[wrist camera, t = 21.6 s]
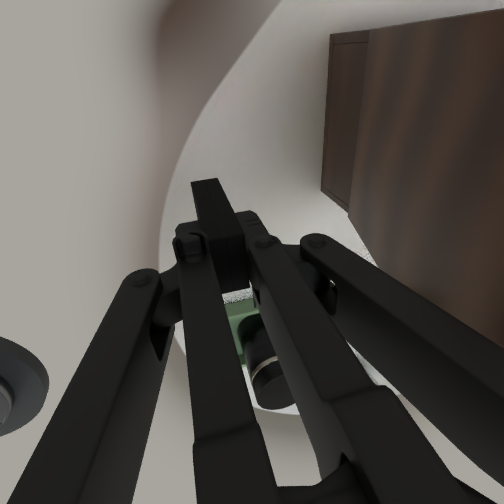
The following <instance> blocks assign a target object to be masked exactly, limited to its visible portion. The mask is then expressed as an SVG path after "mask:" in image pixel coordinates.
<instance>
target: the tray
mask: <svg viewBox="0 0 504 504" xmlns="http://www.w3.org/2000/svg"><path fill="white" fill-rule="evenodd" d="M256 306H257V304H256ZM225 308H226V312H227V316H228V319H229V323H230V326H231V330H232V334H233V337H234V341H235V345H236V348H237V352H238V356H239V359H240V363H241V366H242V367H245V366H246V363H245V359H244V356H243V352H242V349H241V346H240V342H239V339H238V335H237V328H238V326H239V324H240V322H241V321H242V320H243V319H244V318H245V317H246V316H249V315H253V314H257V313H260V312H259V309H258V307H257V308H254V302H253V298H251V299H247V300H243V301H239V302H234V303H230V304H226V305H225Z"/></svg>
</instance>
